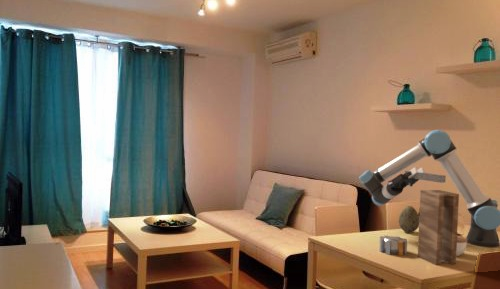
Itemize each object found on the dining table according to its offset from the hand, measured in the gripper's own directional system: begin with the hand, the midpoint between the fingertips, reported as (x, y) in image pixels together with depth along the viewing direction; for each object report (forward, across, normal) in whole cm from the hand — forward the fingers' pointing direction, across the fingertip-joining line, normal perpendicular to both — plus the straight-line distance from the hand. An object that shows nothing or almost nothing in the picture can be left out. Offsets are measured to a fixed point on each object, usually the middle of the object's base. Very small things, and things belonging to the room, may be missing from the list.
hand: (419, 169), depth 197 cm
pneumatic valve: (-60, -43, -10) cm, 75 cm away
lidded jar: (-15, -16, -36) cm, 42 cm away
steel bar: (+1, 0, -5) cm, 5 cm away
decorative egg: (-50, -22, -15) cm, 57 cm away
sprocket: (-22, +11, -32) cm, 40 cm away
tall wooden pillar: (-8, -1, -40) cm, 41 cm away
